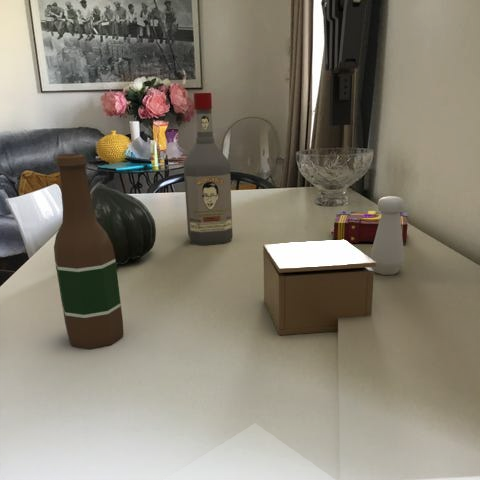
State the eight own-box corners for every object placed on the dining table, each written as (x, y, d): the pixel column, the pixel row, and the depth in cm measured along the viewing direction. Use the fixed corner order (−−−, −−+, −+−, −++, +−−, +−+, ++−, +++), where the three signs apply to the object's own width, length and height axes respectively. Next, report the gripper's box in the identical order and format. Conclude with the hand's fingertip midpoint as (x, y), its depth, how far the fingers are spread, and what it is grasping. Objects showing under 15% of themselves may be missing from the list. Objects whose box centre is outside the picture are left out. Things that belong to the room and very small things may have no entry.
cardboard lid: (376, 266, 73) (376, 262, 73) (279, 272, 72) (279, 268, 72) (345, 243, 86) (345, 239, 86) (263, 248, 85) (263, 244, 85)
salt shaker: (387, 278, 96) (393, 202, 91) (362, 271, 100) (366, 197, 95) (410, 271, 99) (416, 197, 94) (384, 264, 104) (389, 193, 99)
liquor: (187, 236, 128) (178, 93, 116) (227, 233, 129) (221, 92, 118) (191, 246, 120) (181, 93, 108) (234, 243, 121) (229, 92, 110)
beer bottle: (119, 348, 73) (95, 157, 64) (59, 350, 73) (26, 160, 64) (129, 325, 80) (109, 150, 71) (75, 327, 81) (48, 152, 71)
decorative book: (406, 245, 115) (408, 221, 113) (327, 243, 119) (327, 219, 117) (405, 232, 125) (407, 209, 123) (332, 230, 129) (332, 208, 127)
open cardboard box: (370, 328, 77) (374, 270, 74) (279, 335, 76) (278, 276, 73) (342, 295, 89) (345, 244, 86) (264, 300, 88) (263, 248, 85)
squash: (179, 231, 109) (140, 168, 111) (114, 251, 99) (72, 182, 101) (151, 268, 119) (115, 210, 121) (90, 289, 110) (52, 226, 112)
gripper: (304, -59, 77) (303, 123, 86) (331, -86, 65) (326, 129, 74) (357, -59, 78) (350, 121, 87) (393, -86, 66) (381, 126, 75)
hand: (339, 124), depth 81 cm, fingers closed
